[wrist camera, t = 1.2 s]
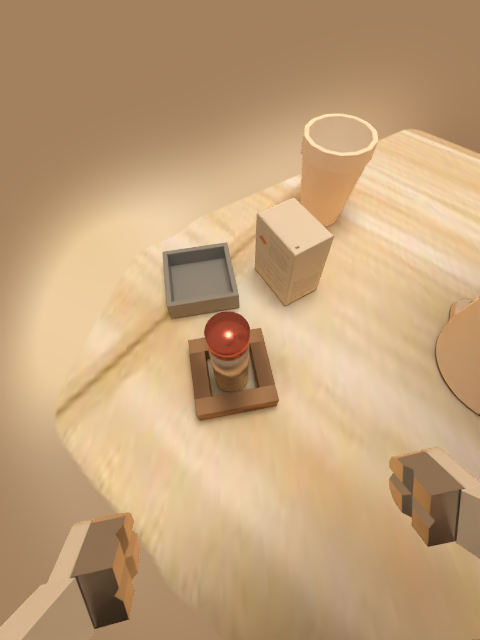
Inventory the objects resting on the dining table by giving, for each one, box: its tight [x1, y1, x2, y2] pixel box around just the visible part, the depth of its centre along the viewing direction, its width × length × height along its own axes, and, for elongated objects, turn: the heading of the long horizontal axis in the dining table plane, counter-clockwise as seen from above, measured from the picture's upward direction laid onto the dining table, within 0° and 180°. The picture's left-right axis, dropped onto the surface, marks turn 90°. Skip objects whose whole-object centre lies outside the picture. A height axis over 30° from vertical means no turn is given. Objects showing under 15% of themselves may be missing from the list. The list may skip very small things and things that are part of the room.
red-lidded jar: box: [204, 312, 250, 392], centre depth 32 cm, size 4×4×12 cm
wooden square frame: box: [188, 328, 279, 420], centre depth 36 cm, size 9×9×2 cm
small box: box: [255, 198, 334, 306], centre depth 40 cm, size 8×6×10 cm
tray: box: [163, 243, 239, 319], centre depth 42 cm, size 9×9×3 cm
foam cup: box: [300, 114, 378, 227], centre depth 45 cm, size 10×9×13 cm
